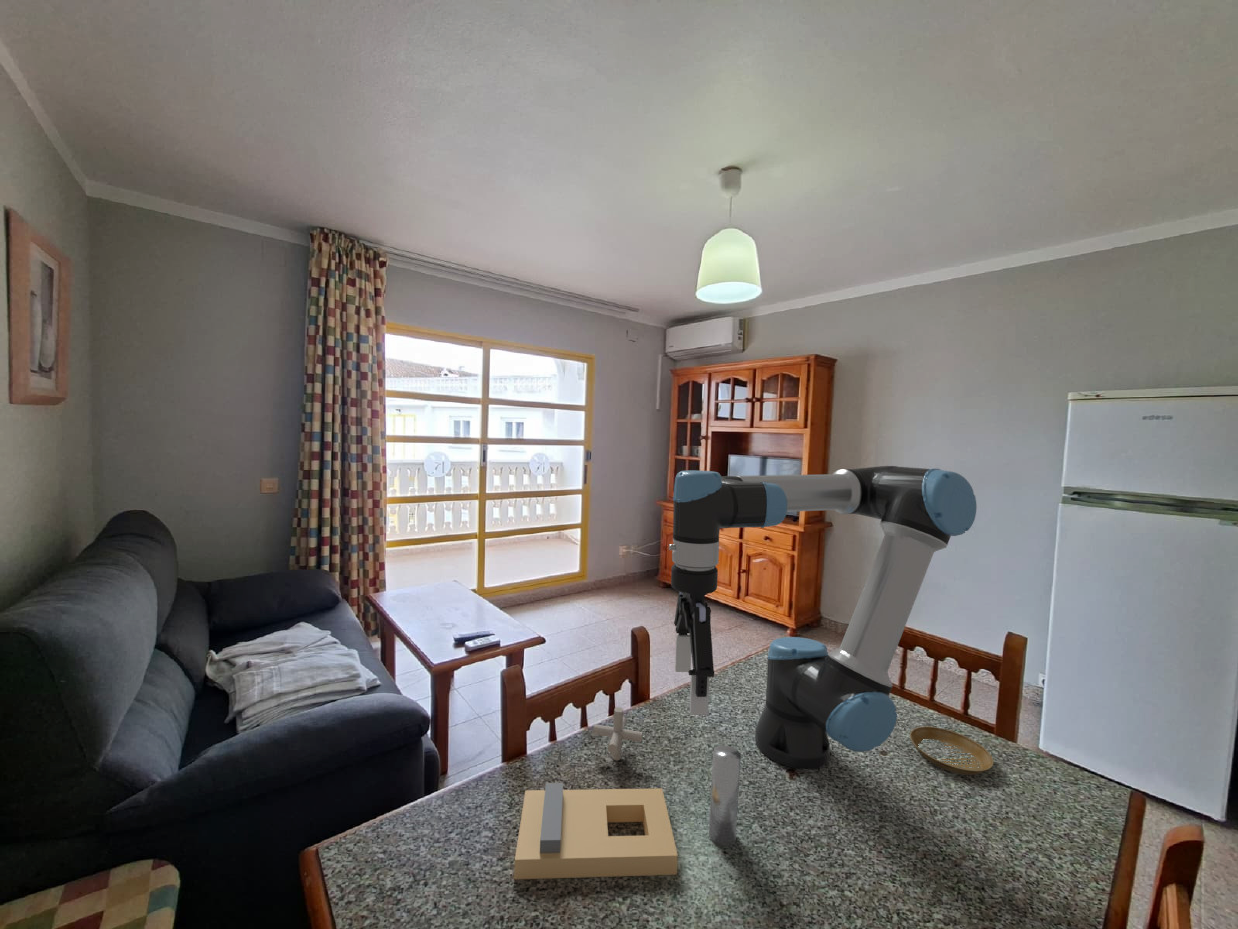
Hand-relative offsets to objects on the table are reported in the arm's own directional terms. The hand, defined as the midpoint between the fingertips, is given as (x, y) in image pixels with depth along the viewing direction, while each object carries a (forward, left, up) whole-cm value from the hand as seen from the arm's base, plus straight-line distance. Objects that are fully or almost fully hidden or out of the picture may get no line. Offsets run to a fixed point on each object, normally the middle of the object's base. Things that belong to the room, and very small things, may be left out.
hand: (690, 690), depth 82 cm
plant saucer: (-61, -17, -24) cm, 68 cm away
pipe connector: (+10, -18, -24) cm, 31 cm away
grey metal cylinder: (-6, +2, -23) cm, 24 cm away
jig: (+15, +2, -23) cm, 28 cm away
